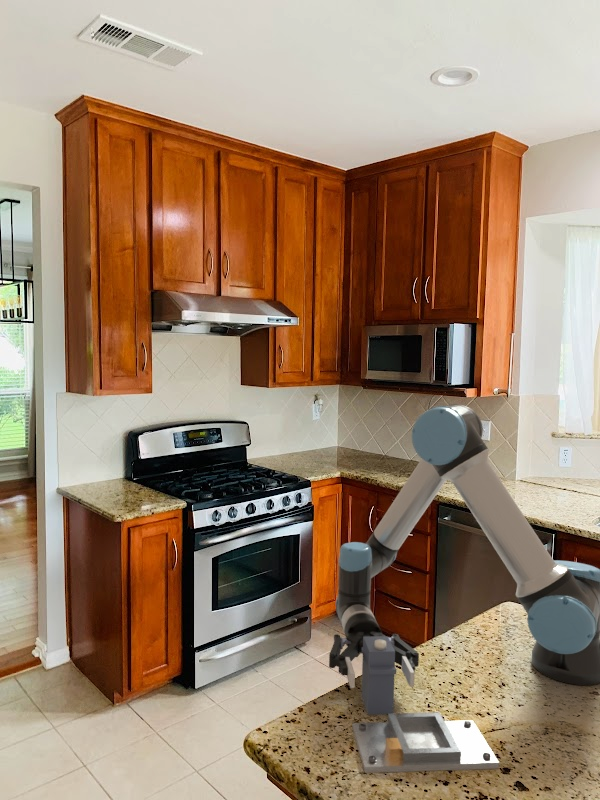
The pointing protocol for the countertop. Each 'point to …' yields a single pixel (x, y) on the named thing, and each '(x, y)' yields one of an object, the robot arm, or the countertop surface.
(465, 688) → the countertop surface
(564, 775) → the countertop surface
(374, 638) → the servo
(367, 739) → the chassis
